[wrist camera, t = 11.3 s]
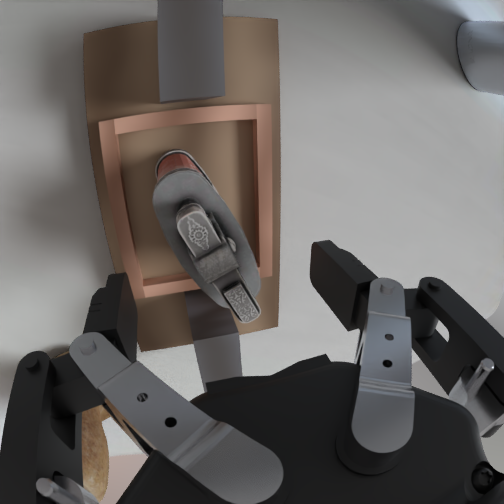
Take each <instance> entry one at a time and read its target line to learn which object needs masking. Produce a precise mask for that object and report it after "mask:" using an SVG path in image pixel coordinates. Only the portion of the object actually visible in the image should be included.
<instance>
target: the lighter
mask: <svg viewBox="0 0 504 504" xmlns="http://www.w3.org/2000/svg"><path fill="white" fill-rule="evenodd" d="M155 173H156V178H157V184H156V185H155V188H154V192H153V197H152V201H153V208H154V211H155V213H156V216H157V218H158V221H159V223H160V226H161V228H162V231H163V233H164V236H165V238H166V240H167V242H168V244H169V245H170V247H171V249H172V251H173V252H174V254H175V256H176V257H177V259H178V261H179V263H180V264H181V266H182V267H183V268H184V269H185V271H186V272H187V273H188V274H189V275H190V277H191V278H192V279H193V280H194V282H195V283H196V284H197V285H198V286H199V287H200V288H201V289H202V290H203V291H204V292H205V293H206V294H207V295H208V296H209V297H211V298H212V299H213V300H214V301H215V302H216V303H217V304H218V305H220V306H222V307H224V308H230V309H231V311H232V312H233V314H234V315H235V317H236V318H237V319H238V320H239V321H240V322H241V323H249V322H251V321H253V320H255V319H256V318H258V317H259V315H260V314H261V309H260V307H259V305H258V303H257V301H256V299H255V297H256V296H257V295H258V293H259V291H260V289H261V279H260V275H259V272H258V268H257V264H256V261H255V257H254V255H253V252H252V250H251V248H250V245H249V243H248V241H247V238H246V236H245V234H244V231H243V230H242V228H241V226H240V225H239V223H238V222H237V220H236V219H235V217H234V215H233V214H232V212H231V211H230V209H229V208H228V206H227V204H226V203H225V201H224V200H223V199H222V197H221V196H220V195H219V194H218V192H217V190H216V189H215V187H214V185H213V184H212V182H211V181H210V179H209V178H208V176H207V175H206V173H205V171H204V170H203V169H202V168H201V167H200V165H199V164H198V163H197V162H196V161H195V159H194V158H193V157H192V156H191V155H190V154H189V153H188V152H187V151H185V150H182V149H172V150H169V151H167V152H165V153H164V154H163V155H162V156H161V157H160V158H159V159H158V161H157V164H156V167H155Z"/></svg>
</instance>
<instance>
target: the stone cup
mask: <svg viewBox="0 0 504 504" xmlns="http://www.w3.org/2000/svg"><path fill="white" fill-rule="evenodd" d="M67 353H69V351H67V352H65V353H62V354H60V355H58V356H57V357H59V356H62V355H65V354H67ZM57 357H55V358H57ZM109 417H110V415H109V414H108V413H107V412H106V410H105V409H104V408H103V407H102V406H101V405H99V406H97V407H94V408H91V409H89V410H86V411H83V412H82V469H83V485H84V489H86V490H87V491H89V492H90V493H91V494H93V495H94V496H95V497H96V499H97V500H98V503H99V502H100V501H101V500H102V499H103V497H104V494H105V492H106V489H107V484H108V472H109V471H108V470H109V452H108V445H107V440H106V436H105V433H104V430H103V427H102V421H103V420H105V419H107V418H109Z"/></svg>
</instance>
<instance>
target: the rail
mask: <svg viewBox="0 0 504 504" xmlns="http://www.w3.org/2000/svg"><path fill="white" fill-rule="evenodd" d="M83 51H84V86H85V102H86V114H87V125H88V134H89V142H90V150H91V157H92V164H93V171H94V177H95V183H96V189H97V194H98V199H99V204H100V209H101V214H102V219H103V224H104V228H105V233H106V237H107V241H108V245H109V249H110V253H111V257H112V261H113V265H114V269H115V272H116V274H117V273H123V272H126V273H127V275H128V278H129V282H130V285H131V289H132V292H133V296H134V299H135V302H136V307H137V313H138V323H137V342H138V344H139V347H140V350H141V352H143V351H150V350H157V349H164V348H170V347H176V346H182V345H188V344H194V348H195V352H196V357H197V361H198V366H199V370H200V374H201V378H202V383H203V387H204V391H205V392H207V388H206V384H205V383H206V382H212V381H217V380H222V379H227V378H232V377H242V366H241V353H240V340H239V335H241V334H246V333H251V332H255V331H260V330H265V329H269V328H273V327H278V311H279V273H280V202H281V147H280V79H279V44H278V19H268V18H252V17H223V0H158V20H157V21H148V22H141V23H134V24H128V25H122V26H117V27H112V28H107V29H102V30H97V31H93V32H89V33H85V34H84V45H83ZM172 149H182V150H185V151H187V152H188V153H189V154H190V155H191V156H192V157H193V158H194V159H195V161H196V162H197V163H198V164H199V165H200V167H201V168H202V169H203V170H204V171H205V173H206V175H207V176H208V178H209V179H210V181H211V182H212V184H213V185H214V187H215V189H216V190H217V192H218V194H219V195H220V196H221V197H222V199H223V200H224V201H225V203H226V204H227V206H228V208H229V209H230V211H231V212H232V214H233V215H234V217H235V219H236V220H237V222H238V223H239V225H240V226H241V228H242V230H243V231H244V234H245V236H246V238H247V241H248V243H249V245H250V248H251V250H252V252H253V255H254V257H255V261H256V264H257V268H258V272H259V275H260V279H261V289H260V291H259V293H258V295H257V296H256V297H255V299H256V301H257V303H258V305H259V307H260V309H261V314H260V315H259V317H258V318H256V319H255V320H253V321H251V322H249V323H241V322H240V321H239V320H238V319H237V318H236V317H235V315H234V314H233V312H232V311H231V309H230V308H224V307H222V306H220V305H218V304H217V303H216V302H215V301H214V300H213V299H212V298H211V297H209V296H208V295H207V294H206V293H205V292H204V291H203V290H202V289H201V288H200V287H199V286H198V285H197V284H196V283H195V282H194V280H193V279H192V278H191V277H190V275H189V274H188V273H187V272H186V271H185V269H184V268H183V267H182V266H181V264H180V263H179V261H178V259H177V257H176V256H175V254H174V252H173V251H172V249H171V247H170V245H169V244H168V242H167V240H166V238H165V236H164V233H163V231H162V228H161V226H160V223H159V221H158V218H157V216H156V213H155V211H154V208H153V201H152V197H153V192H154V188H155V185H156V184H157V178H156V173H155V167H156V164H157V161H158V159H159V158H160V157H161V156H162V155H163V154H164V153H165V152H167V151H169V150H172Z"/></svg>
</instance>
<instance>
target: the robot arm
mask: <svg viewBox="0 0 504 504" xmlns="http://www.w3.org/2000/svg"><path fill="white" fill-rule="evenodd" d="M457 47H458V54H459V59H460V62H461V66H462V69H463V71H464V73H465V75H466V77H467V79H468V81H469V82H470V84H471V85H472V86H473V87H474V88H475V89H477V90H479V91H482V92H488V93H493V94H498V95H503V96H504V22H501V21H469V22H464V23H462V25H461V26H460V28H459V31H458V36H457ZM310 279H311V283H312V285H313V287H314V288H315V289H316V291H317V292H318V293H319V294H320V296H321V297H322V298H323V300H324V301H325V302H326V303H327V305H328V306H329V307H330V309H331V310H332V311H333V312H334V314H335V315H336V316H337V318H338V319H339V320H340V322H341V323H342V324H343V325H344V327H345V328H346V329H347V331H351V330H355V329H358V328H359V330H360V333H359V337H358V343H357V349H356V354H355V359H354V363H349V362H331V361H330V360H329V358H328V356H327V355H326V354H324V355H320V356H317V357H313V358H310V359H306V360H303V361H299V362H297V363H295V364H293V365H291V366H289V367H287V368H285V369H283V370H281V371H279V372H277V373H275V374H273V375H270V376H242V377H232V378H227V379H222V380H217V381H212V382H206V383H205V384H206V388H207V392H205V393H203V394H201V395H199V396H197V397H195V398H194V399H192V400H191V401H187V400H186V399H185V398H183V397H182V396H181V395H180V394H178V393H177V392H176V391H174V390H173V389H172V388H171V387H169V386H168V385H167V384H166V383H164V382H163V381H162V380H161V379H159V378H158V377H157V376H156V375H155V374H153V373H152V372H151V371H150V370H149V369H147V368H146V367H145V366H144V365H143V364H142V363H140V362H139V361H136V354H137V323H138V313H137V307H136V302H135V299H134V296H133V292H132V289H131V285H130V282H129V278H128V275H127V273H126V272H123V273H117V274H110V275H109V276H108V280H107V284H106V287H104V288H99V289H98V290H97V291H96V293H95V294H94V295H93V296H92V300H91V304H90V305H91V306H90V307H89V313H88V315H87V319H86V323H85V327H84V331H83V334H82V335H80V336H79V337H77V338H76V339H75V340H74V341H73V342H72V343H71V345H70V348H69V353H67V354H65V355H62V356H59V357H57V358H54V359H51V360H50V358H49V356H48V355H47V354H46V353H45V352H43V351H34V352H31V353H29V354H27V355H26V356H24V357H23V358H22V359H21V361H20V362H19V364H18V367H17V370H16V374H15V378H14V382H13V386H12V390H11V394H10V399H9V403H8V408H7V413H6V418H5V424H4V430H3V436H2V443H1V450H0V504H99V503H98V500H97V499H96V497H95V496H94V495H93V494H91V493H90V492H89V491H87V490H86V489H84V485H83V469H82V412H83V411H86V410H89V409H91V408H94V407H97V406H99V405H101V406H102V407H103V408H104V409H105V410H106V412H107V413H108V414H109V415H110V416H111V417H112V418H113V420H114V421H115V422H116V423H117V424H118V425H119V426H120V427H121V428H122V429H123V431H124V432H125V433H126V434H127V435H128V436H129V437H130V438H131V439H132V440H133V441H134V443H135V444H136V445H137V446H138V447H139V448H140V449H141V450H142V451H143V452H144V453H145V454H146V455H147V456H148V458H147V460H146V461H145V463H144V464H143V466H142V467H141V469H140V470H139V472H138V473H137V474H136V476H135V477H134V479H133V480H132V482H131V483H130V485H129V486H128V488H127V489H126V490H125V492H124V493H123V495H122V496H121V497H120V499H119V500H118V502H117V503H116V504H504V474H503V473H500V472H498V471H496V470H495V469H494V468H493V467H492V466H491V465H490V464H489V462H488V460H487V458H486V456H485V453H484V450H483V447H482V443H481V438H480V437H490V436H492V435H493V434H494V433H495V432H496V431H497V430H498V429H499V428H500V427H501V426H502V425H503V424H504V338H503V337H502V336H501V335H500V334H499V333H498V332H497V331H496V330H495V329H494V328H493V327H492V326H491V325H490V324H489V323H488V322H487V321H486V320H485V319H484V318H483V317H482V316H481V315H480V314H479V313H478V312H477V311H476V310H475V309H474V308H473V307H472V306H470V305H469V304H468V303H467V302H466V301H465V300H464V299H463V298H462V297H461V296H460V295H458V294H457V293H456V292H455V291H454V290H453V289H452V288H451V287H450V286H448V285H447V284H446V283H445V282H444V281H442V280H440V279H438V278H434V277H424V278H422V279H421V280H420V282H419V286H418V288H415V289H404V288H403V286H402V285H401V284H400V283H399V282H397V281H395V280H393V279H390V278H378V277H377V276H376V275H375V274H374V273H373V272H371V271H370V270H369V269H368V268H367V267H366V266H365V265H363V263H362V262H360V261H359V260H358V259H357V258H356V257H355V256H354V255H353V254H351V253H350V252H348V251H345V250H343V249H339V248H338V247H337V246H336V245H335V244H334V243H333V242H332V241H330V240H325V241H319V242H314V243H313V244H312V248H311V262H310ZM438 320H440V321H441V322H442V323H443V325H444V326H445V327H446V328H447V329H448V331H449V340H448V342H447V341H446V340H445V339H444V338H443V337H442V336H441V335H440V333H439V332H438V331H437V330H436V329H435V328H436V325H437V323H438ZM412 349H413V350H414V351H415V353H416V354H417V355H418V356H419V358H420V359H421V360H422V362H423V363H424V364H425V365H426V367H427V368H428V369H429V371H430V372H431V373H432V375H433V376H434V377H435V378H436V380H437V381H438V382H439V384H440V385H441V386H442V388H443V389H444V391H445V392H446V393H447V395H448V396H449V399H446V398H443V397H440V396H437V395H435V394H432V393H429V392H426V391H424V390H421V389H418V388H416V387H413V386H411V381H412V380H411V379H412Z"/></svg>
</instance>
